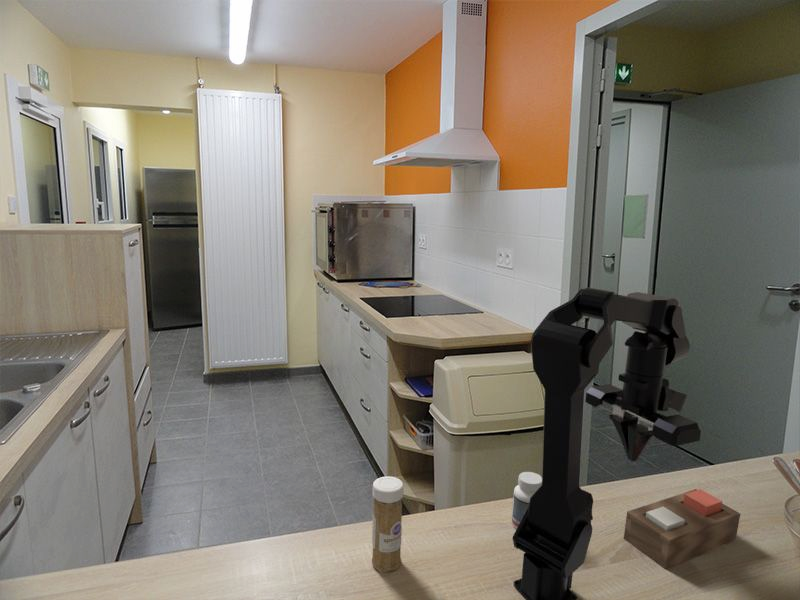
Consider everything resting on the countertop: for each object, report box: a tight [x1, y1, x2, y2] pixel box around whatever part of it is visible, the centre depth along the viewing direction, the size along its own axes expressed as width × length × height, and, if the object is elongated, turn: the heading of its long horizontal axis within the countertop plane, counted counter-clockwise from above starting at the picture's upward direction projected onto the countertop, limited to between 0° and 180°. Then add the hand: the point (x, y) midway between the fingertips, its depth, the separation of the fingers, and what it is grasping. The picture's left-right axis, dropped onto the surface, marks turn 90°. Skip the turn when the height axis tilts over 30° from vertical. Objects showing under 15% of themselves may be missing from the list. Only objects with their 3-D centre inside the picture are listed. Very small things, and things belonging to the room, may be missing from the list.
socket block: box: [623, 488, 741, 570], centre depth 90 cm, size 17×8×5 cm, turn 116°
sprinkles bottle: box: [371, 476, 404, 573], centre depth 82 cm, size 5×5×13 cm
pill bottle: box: [510, 471, 542, 530], centre depth 93 cm, size 5×5×9 cm
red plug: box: [683, 489, 723, 517], centre depth 92 cm, size 4×4×5 cm
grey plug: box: [646, 507, 685, 531], centre depth 88 cm, size 4×4×5 cm
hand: (632, 460), depth 91 cm, fingers closed
